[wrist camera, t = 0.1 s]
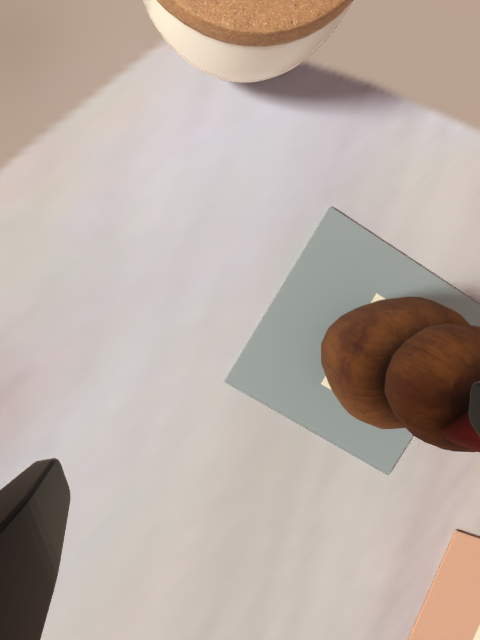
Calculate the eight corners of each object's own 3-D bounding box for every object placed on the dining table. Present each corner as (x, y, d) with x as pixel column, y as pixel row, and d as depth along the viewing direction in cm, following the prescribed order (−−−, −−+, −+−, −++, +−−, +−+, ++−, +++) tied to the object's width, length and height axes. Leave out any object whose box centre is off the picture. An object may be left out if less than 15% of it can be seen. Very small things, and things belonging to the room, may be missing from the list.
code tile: (386, 473, 26) (388, 475, 25) (224, 381, 24) (224, 381, 24) (488, 311, 25) (490, 312, 25) (329, 207, 24) (331, 206, 24)
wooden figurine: (396, 281, 24) (700, 280, 9) (425, 368, 25) (752, 495, 10) (292, 322, 24) (437, 390, 9) (325, 410, 25) (510, 605, 10)
